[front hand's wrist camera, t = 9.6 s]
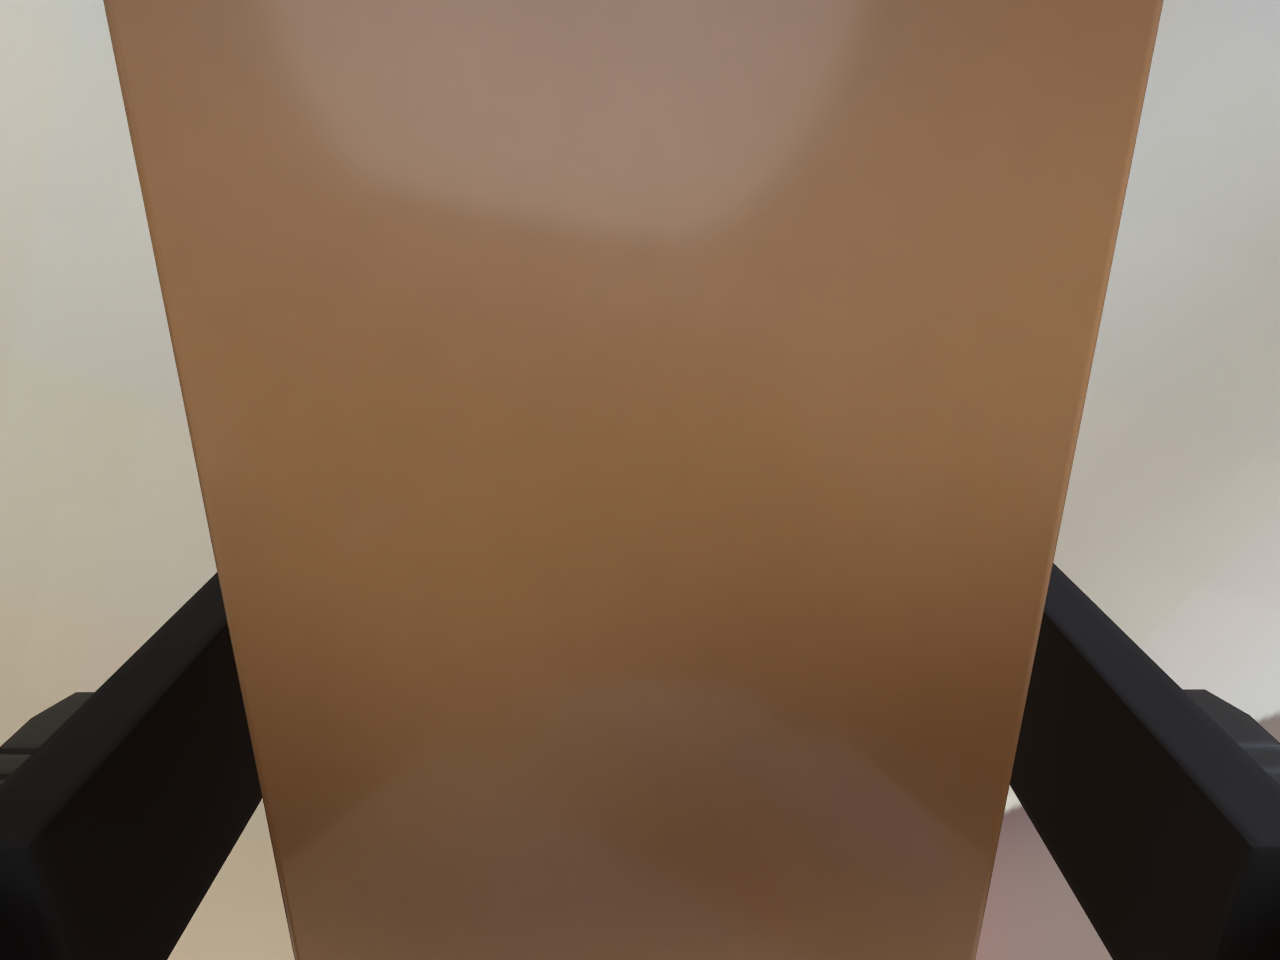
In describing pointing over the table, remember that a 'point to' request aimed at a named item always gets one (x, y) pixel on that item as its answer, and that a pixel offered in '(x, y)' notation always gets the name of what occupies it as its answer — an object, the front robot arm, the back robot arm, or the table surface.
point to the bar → (634, 445)
